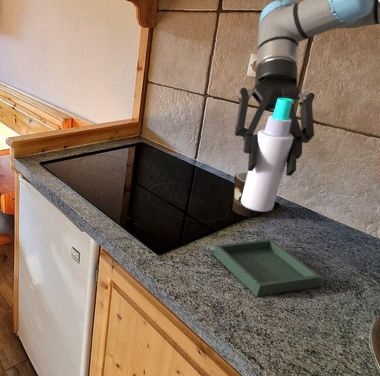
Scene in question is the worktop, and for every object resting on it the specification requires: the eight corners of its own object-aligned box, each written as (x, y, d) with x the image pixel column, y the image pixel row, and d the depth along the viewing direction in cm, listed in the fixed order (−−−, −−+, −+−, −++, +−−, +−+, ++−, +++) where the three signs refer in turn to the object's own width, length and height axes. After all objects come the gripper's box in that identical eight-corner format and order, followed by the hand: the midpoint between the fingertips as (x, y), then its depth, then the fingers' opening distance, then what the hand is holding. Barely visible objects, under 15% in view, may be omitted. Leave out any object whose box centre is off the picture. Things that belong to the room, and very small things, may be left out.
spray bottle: (239, 208, 82) (266, 100, 73) (241, 196, 87) (267, 94, 78) (272, 215, 80) (305, 104, 70) (272, 203, 85) (303, 98, 75)
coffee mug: (264, 221, 108) (273, 187, 104) (229, 215, 110) (237, 181, 106) (258, 202, 118) (267, 170, 114) (226, 197, 120) (234, 166, 116)
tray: (317, 287, 83) (321, 276, 82) (256, 296, 80) (260, 285, 79) (267, 248, 96) (270, 238, 95) (213, 254, 93) (215, 245, 92)
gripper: (320, 83, 85) (319, 184, 77) (223, 76, 89) (213, 171, 82) (337, 59, 78) (338, 169, 70) (231, 54, 83) (221, 155, 75)
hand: (271, 170), depth 76 cm, fingers closed on spray bottle, 6 cm apart
